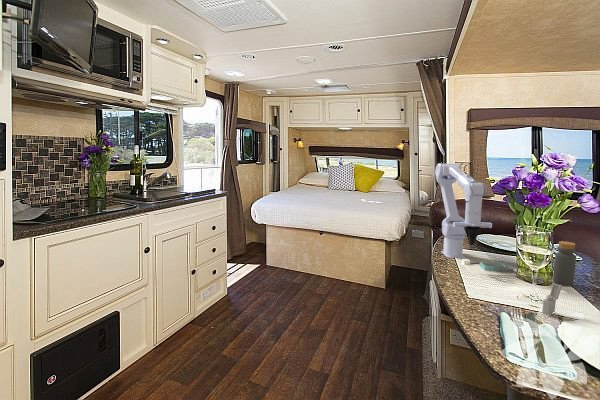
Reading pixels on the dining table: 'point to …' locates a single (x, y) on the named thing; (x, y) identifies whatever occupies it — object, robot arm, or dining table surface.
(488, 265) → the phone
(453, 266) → the dining table surface
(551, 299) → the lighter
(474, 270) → the board
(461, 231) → the robot arm
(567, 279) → the bottle
